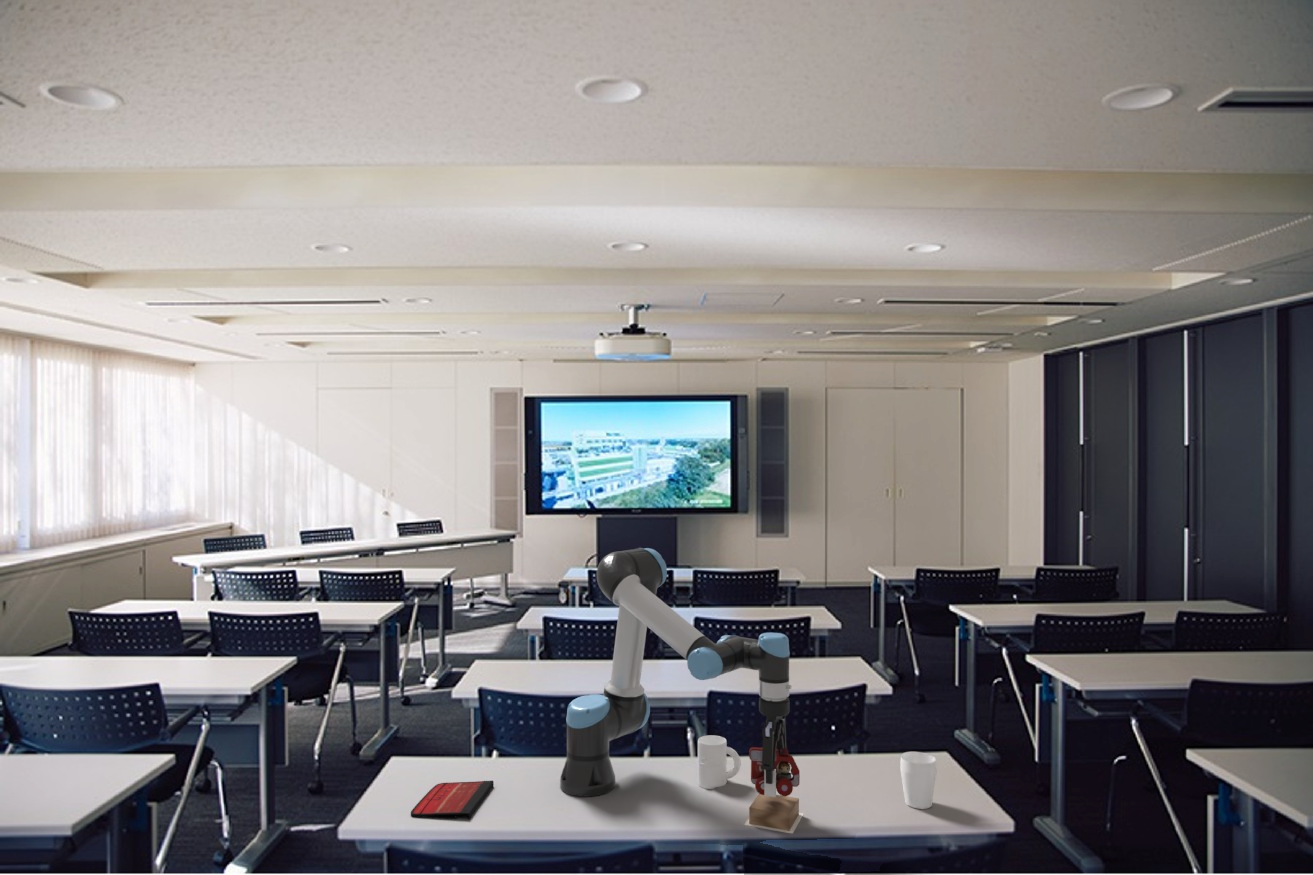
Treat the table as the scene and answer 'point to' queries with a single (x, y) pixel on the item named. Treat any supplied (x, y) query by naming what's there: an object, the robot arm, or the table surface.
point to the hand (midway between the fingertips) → (774, 789)
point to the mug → (715, 762)
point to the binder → (452, 800)
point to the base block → (774, 811)
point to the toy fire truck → (782, 777)
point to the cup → (918, 778)
